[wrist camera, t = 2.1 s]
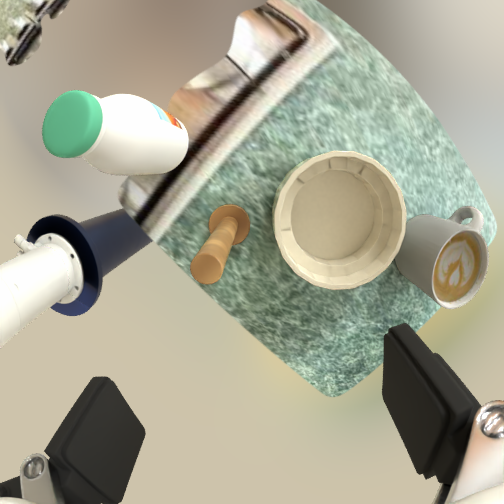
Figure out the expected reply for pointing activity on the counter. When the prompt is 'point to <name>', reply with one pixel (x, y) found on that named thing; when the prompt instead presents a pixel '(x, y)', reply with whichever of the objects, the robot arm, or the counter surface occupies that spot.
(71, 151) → the milk bottle
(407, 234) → the coffee mug
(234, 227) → the wooden masher
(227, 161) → the counter surface
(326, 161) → the bowl
